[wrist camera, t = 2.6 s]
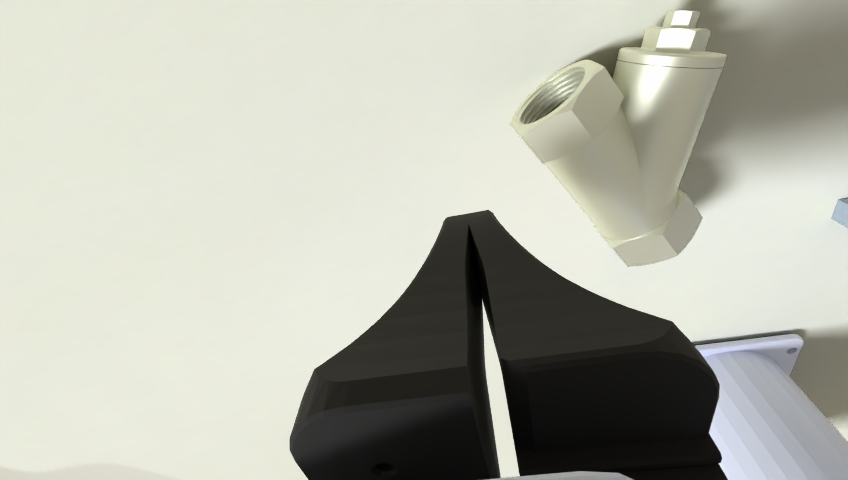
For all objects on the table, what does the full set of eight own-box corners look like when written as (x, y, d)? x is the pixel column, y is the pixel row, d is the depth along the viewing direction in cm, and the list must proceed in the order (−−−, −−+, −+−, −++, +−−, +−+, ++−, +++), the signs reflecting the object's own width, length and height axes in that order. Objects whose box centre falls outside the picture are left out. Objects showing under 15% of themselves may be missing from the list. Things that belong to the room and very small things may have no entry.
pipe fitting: (649, -16, 14) (502, 115, 17) (722, -24, 11) (526, 142, 13) (734, 142, 18) (601, 235, 20) (812, 173, 14) (640, 282, 16)
